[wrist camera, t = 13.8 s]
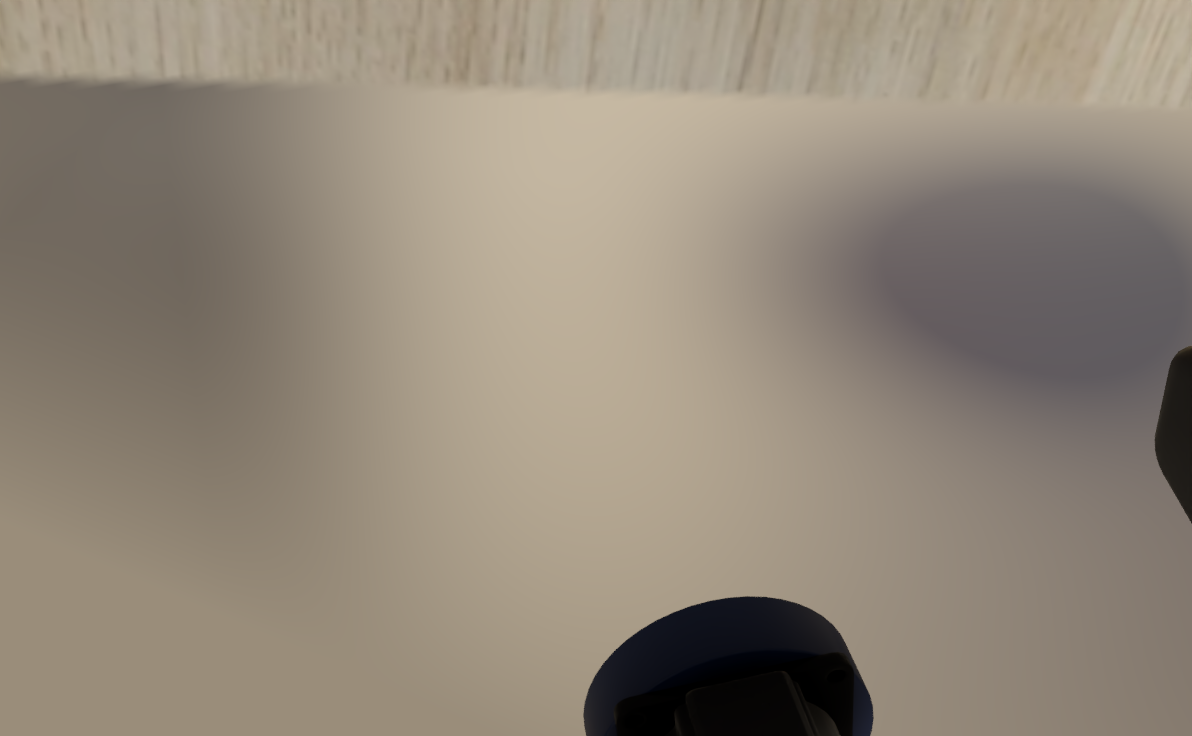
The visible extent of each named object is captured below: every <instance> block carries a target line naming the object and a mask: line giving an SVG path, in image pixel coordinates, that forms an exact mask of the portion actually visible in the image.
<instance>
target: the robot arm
mask: <svg viewBox="0 0 1192 736" xmlns="http://www.w3.org/2000/svg"><path fill="white" fill-rule="evenodd" d="M1155 451H1156V456H1157V460H1158V463H1159V466H1160V468H1161V470H1162V472H1163V475H1164V476H1165V478H1166V480H1167V481H1168V483H1169V485H1170V486H1171V488H1172V490H1173V492H1174V493H1175V495H1176V497H1177V499H1178V500H1179V502H1180V504H1181V506H1182V507H1183V509H1184V511H1185V513H1186V514H1187V516H1188V518H1189V519H1190V521H1191V523H1192V346H1189V347H1186V348H1184V349H1182V350H1181V351H1179V352H1178V353H1177V354H1176V356H1175V357H1174V358H1173V360H1172V362H1171V365H1170V368H1169V373H1168V377H1167V382H1166V386H1165V391H1164V396H1163V401H1162V405H1161V410H1160V415H1159V419H1158V424H1157V429H1156V433H1155ZM853 698H854V670H853V667H852V665H851V663H850V661H849V659H848V657H847V656H846V655H845V654H844V653H840V652H831V653H827V654H822V655H817V656H813V657H808V658H804V659H799V660H795V661H790V662H786V663H781V664H777V665H772V666H768V667H763V668H759V669H754V670H749V671H745V672H740V673H736V674H731V675H727V676H722V677H718V678H713V679H709V680H704V681H700V682H695V683H691V684H686V685H681V686H677V687H672V688H668V689H663V690H659V691H654V692H650V693H645V694H641V695H636V696H632V697H628V698H625V699H623V700H621V701H620V702H619V703H617V705H616V706H615V707H614V712H613V714H614V720H615V726H616V732H617V736H853Z"/></svg>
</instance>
